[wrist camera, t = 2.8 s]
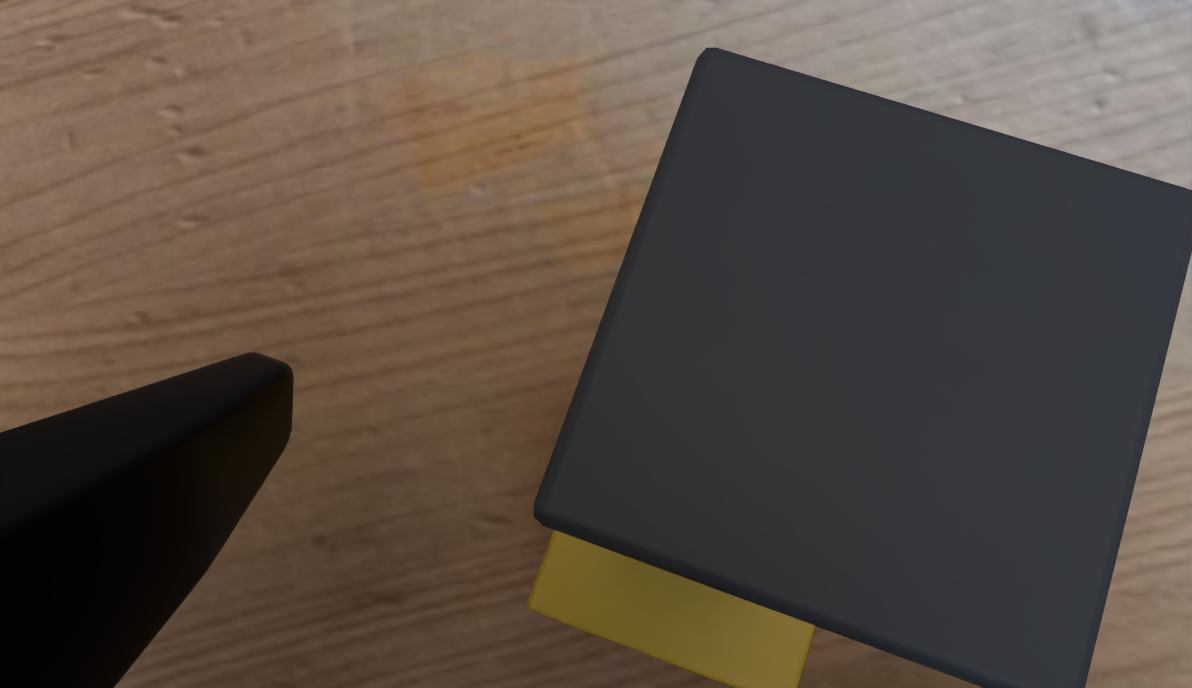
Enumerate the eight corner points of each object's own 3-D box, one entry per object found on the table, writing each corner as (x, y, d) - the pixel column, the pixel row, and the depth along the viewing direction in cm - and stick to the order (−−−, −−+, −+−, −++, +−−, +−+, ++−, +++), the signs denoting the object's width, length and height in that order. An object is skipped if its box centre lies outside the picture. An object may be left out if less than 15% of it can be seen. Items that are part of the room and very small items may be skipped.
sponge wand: (757, 674, 17) (1217, 1159, 3) (550, 596, 18) (235, 754, 4) (837, 414, 18) (1453, -9, 4) (639, 346, 19) (635, -229, 5)
